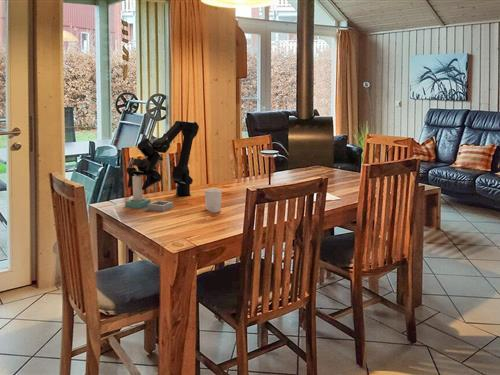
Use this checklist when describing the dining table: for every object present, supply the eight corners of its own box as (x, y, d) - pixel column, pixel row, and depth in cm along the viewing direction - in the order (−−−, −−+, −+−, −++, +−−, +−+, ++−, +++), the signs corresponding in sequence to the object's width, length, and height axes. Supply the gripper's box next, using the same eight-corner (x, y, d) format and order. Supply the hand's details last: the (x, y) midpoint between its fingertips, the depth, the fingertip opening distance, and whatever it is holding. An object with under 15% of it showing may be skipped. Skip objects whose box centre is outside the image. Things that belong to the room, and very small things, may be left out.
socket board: (175, 208, 246) (175, 201, 245) (162, 214, 236) (162, 206, 235) (137, 204, 254) (136, 197, 254) (122, 209, 245) (122, 201, 244)
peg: (143, 204, 250) (142, 175, 247) (141, 206, 245) (140, 177, 242) (134, 204, 250) (133, 175, 247) (132, 206, 245) (131, 177, 242)
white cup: (215, 213, 237) (215, 192, 235) (201, 211, 241) (201, 190, 239) (225, 210, 244) (225, 189, 242) (211, 208, 248) (211, 187, 246)
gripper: (127, 150, 250) (111, 176, 244) (156, 153, 241) (140, 180, 234) (139, 164, 259) (124, 189, 252) (168, 167, 249) (153, 194, 242)
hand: (135, 188), depth 245 cm, fingers open, 9 cm apart
